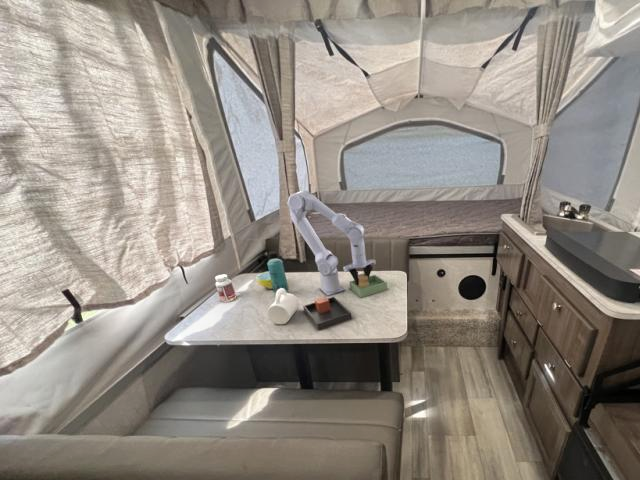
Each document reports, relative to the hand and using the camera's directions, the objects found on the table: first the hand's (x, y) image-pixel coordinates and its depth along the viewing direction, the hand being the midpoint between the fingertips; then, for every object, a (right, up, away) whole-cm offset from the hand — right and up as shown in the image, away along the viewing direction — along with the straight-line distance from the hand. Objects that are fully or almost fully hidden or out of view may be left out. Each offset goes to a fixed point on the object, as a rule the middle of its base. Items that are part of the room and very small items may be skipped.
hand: (361, 282), depth 138 cm
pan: (-12, -13, -16) cm, 24 cm away
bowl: (-44, -2, +10) cm, 45 cm away
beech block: (0, -1, 0) cm, 1 cm away
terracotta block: (-14, -12, -13) cm, 22 cm away
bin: (+3, -3, +3) cm, 5 cm away
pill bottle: (-60, -7, +1) cm, 60 cm away
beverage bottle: (-36, -5, +2) cm, 37 cm away
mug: (-28, -15, -16) cm, 35 cm away
